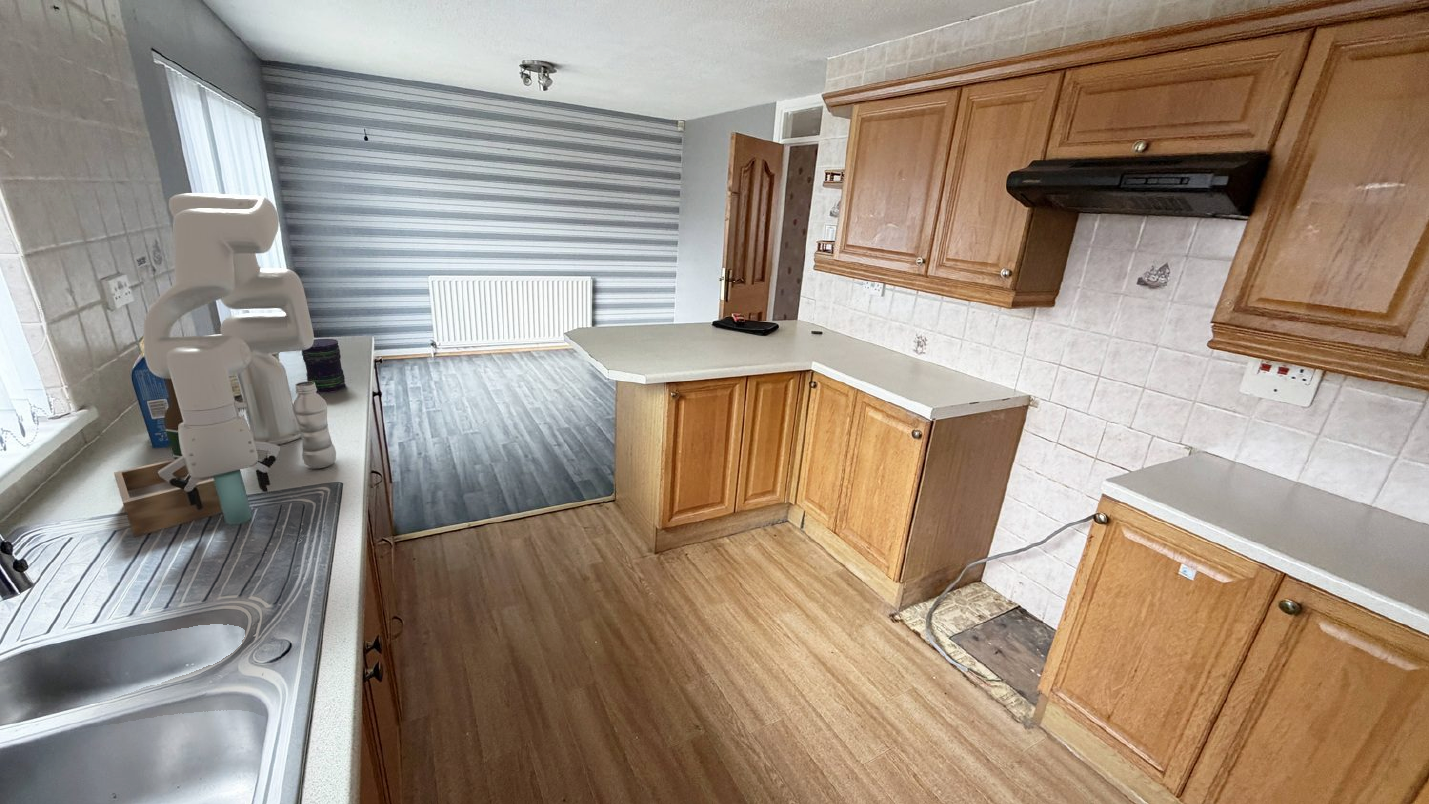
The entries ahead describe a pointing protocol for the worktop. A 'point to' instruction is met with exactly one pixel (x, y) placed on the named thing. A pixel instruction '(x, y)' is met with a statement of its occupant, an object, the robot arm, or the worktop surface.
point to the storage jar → (324, 365)
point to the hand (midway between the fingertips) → (232, 497)
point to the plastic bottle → (313, 426)
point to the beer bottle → (173, 420)
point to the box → (162, 498)
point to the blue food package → (151, 400)
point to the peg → (233, 497)
